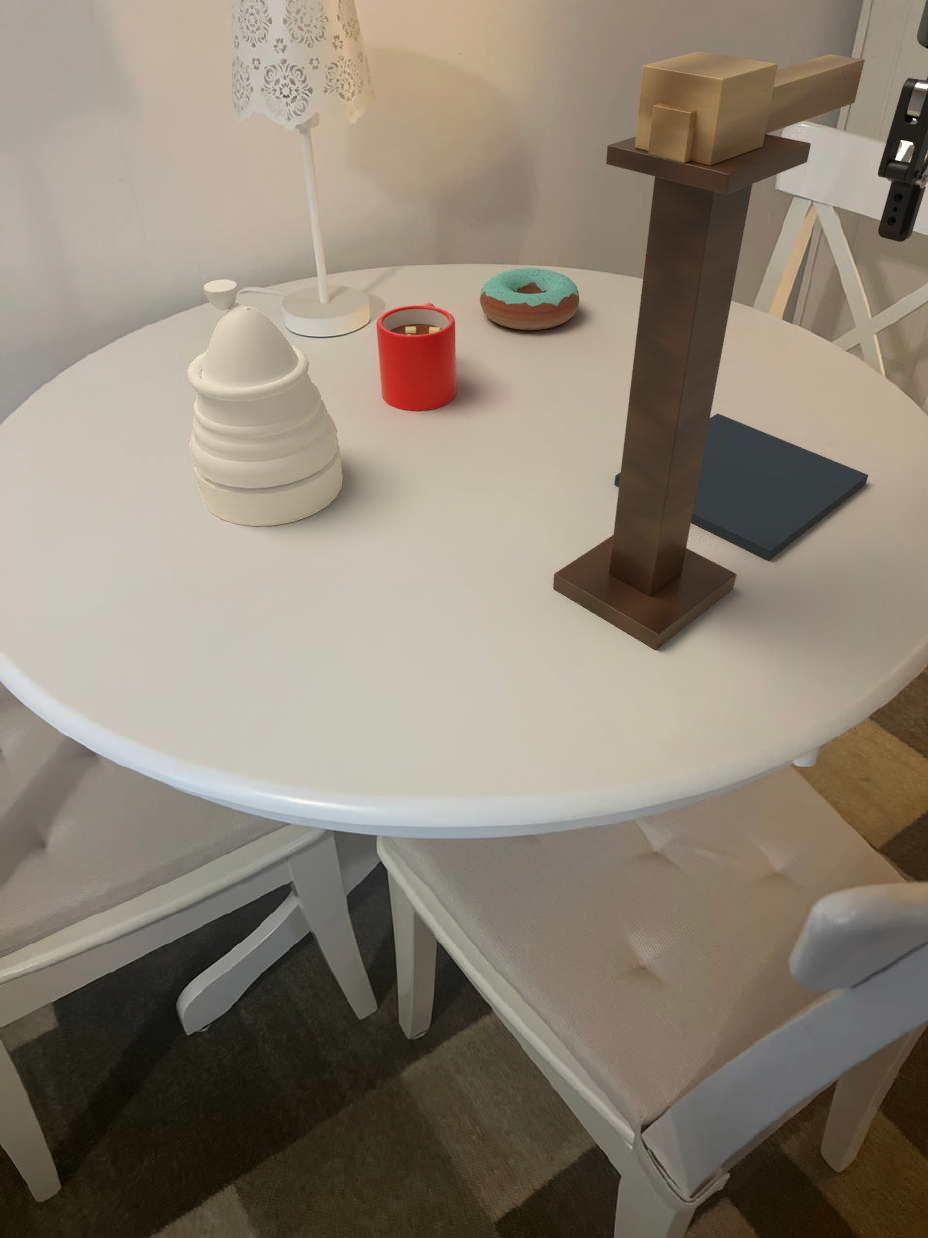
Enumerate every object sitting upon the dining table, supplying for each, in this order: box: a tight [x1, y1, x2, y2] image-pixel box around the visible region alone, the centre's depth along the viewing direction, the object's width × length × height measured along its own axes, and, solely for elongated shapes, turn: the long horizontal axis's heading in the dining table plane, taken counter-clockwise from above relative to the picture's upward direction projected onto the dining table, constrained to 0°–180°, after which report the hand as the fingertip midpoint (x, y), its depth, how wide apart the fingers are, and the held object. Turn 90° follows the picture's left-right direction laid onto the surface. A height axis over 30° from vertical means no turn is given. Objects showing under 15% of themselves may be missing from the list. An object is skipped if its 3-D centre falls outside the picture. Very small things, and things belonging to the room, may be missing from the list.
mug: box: [375, 302, 457, 412], centre depth 96 cm, size 8×12×8 cm, turn 172°
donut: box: [479, 267, 580, 331], centre depth 111 cm, size 12×12×4 cm
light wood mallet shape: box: [635, 50, 866, 166], centre depth 53 cm, size 5×18×4 cm, turn 134°
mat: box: [613, 413, 869, 562], centre depth 83 cm, size 16×16×1 cm
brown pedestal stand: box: [552, 133, 812, 651], centre depth 62 cm, size 10×10×32 cm
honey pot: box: [186, 279, 344, 527], centre depth 78 cm, size 13×13×18 cm
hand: (919, 223), depth 69 cm, fingers open, 8 cm apart
